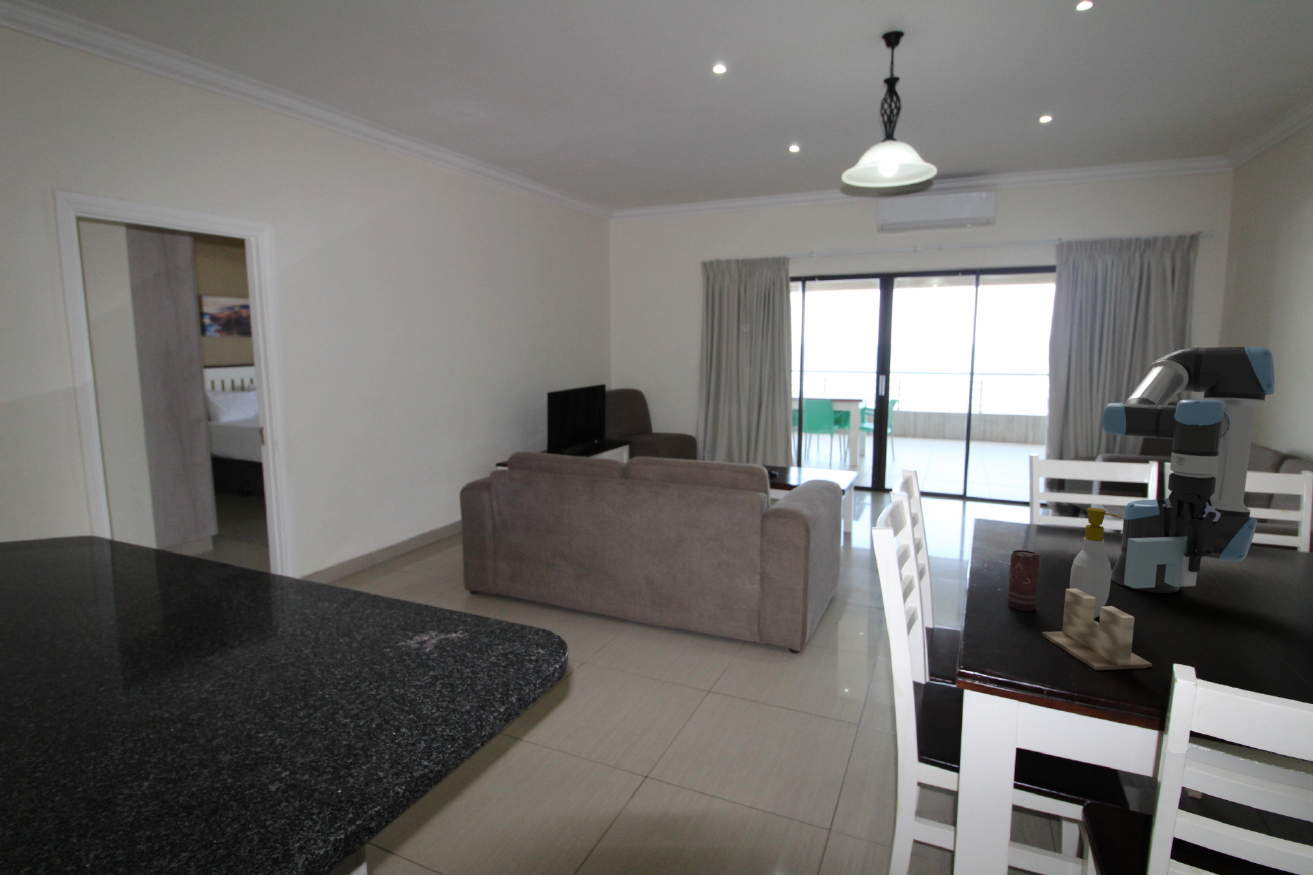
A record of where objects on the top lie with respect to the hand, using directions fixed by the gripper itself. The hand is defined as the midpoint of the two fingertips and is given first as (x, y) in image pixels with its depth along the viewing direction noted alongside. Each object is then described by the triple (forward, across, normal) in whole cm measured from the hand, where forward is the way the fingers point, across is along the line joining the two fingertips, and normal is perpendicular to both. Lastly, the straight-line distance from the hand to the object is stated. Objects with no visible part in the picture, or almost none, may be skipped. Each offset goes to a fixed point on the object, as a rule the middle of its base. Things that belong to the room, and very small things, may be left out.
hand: (1181, 582), depth 136 cm
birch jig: (+15, 0, -18) cm, 23 cm away
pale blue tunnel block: (0, 0, -5) cm, 5 cm away
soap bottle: (+15, -19, -4) cm, 25 cm away
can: (+15, -24, -18) cm, 34 cm away
